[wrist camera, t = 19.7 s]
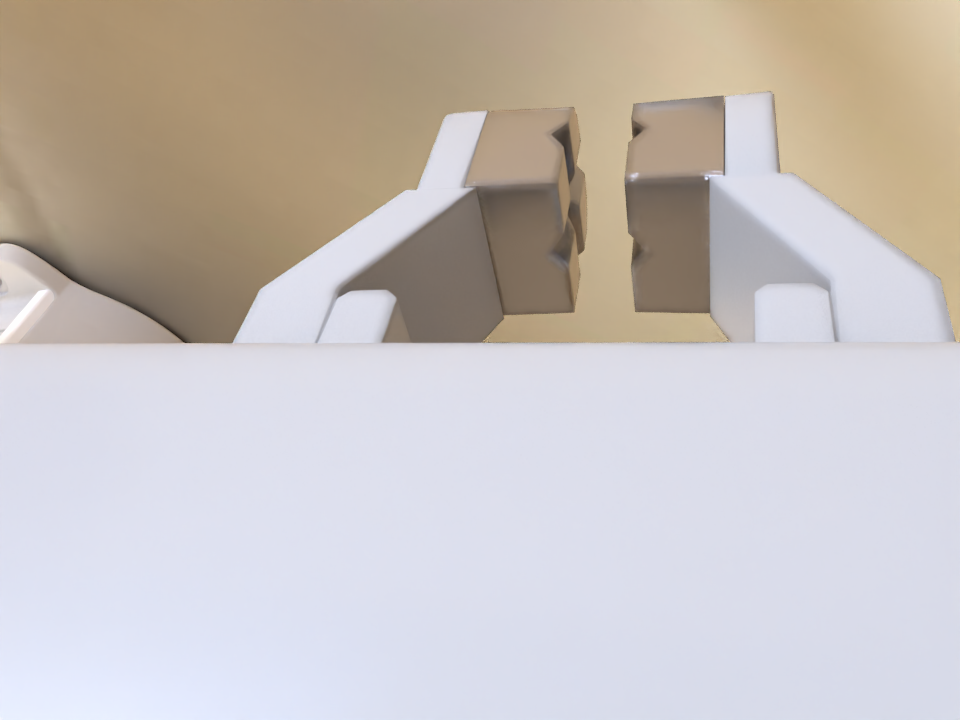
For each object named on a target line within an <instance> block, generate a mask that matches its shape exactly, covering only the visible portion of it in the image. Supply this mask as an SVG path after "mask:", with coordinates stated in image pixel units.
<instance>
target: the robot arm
mask: <svg viewBox="0 0 960 720" xmlns="http://www.w3.org/2000/svg"><path fill="white" fill-rule="evenodd" d="M631 119H632V136H633V139H632V140H631V141H630V142H629V143H628V152H627V162H626V171H625V193H626V207H627V221H628V233H629V234H630V235H631V236H632V237H633V238H634V240H633V252H632V263H631V271H632V282H633V292H634V303H635V312H667V313H710V317H711V318H712V319H713V320H714V322H715V323H716V324H717V325H718V327H719V328H720V329H721V330H722V332H723V333H724V334H725V336H726V337H727V338H728V339H729V341H730V342H606V343H481V342H482V341H483V340H484V339H485V338H486V337H487V336H488V335H489V334H490V333H491V332H492V331H493V330H494V329H495V328H496V326H497V325H498V324H499V323H500V322H501V321H502V320H503V319H504V317H503V315H520V314H548V313H574V311H575V305H576V299H577V293H578V287H579V281H580V267H579V258H578V255H579V254H580V253H581V252H583V251H584V249H585V241H586V234H587V194H586V183H585V174H584V173H583V171H582V170H581V169H580V168H579V167H578V166H577V160H578V154H579V148H580V142H581V140H580V133H579V125H578V118H577V114H576V111H575V108H574V107H563V108H541V109H519V110H498V111H491V112H489V111H488V110H484V111H473V112H462V113H451V114H449V115H446V116H445V118H444V120H443V122H442V125H441V128H440V130H439V133H438V135H437V138H436V141H435V143H434V146H433V149H432V151H431V154H430V156H429V159H428V162H427V164H426V167H425V170H424V172H423V175H422V178H421V180H420V183H419V185H418V188H417V190H405V191H404V192H402V193H401V194H399V195H398V196H396V197H395V198H393V199H392V200H390V201H389V202H387V203H386V204H385V205H383V206H382V207H380V208H379V209H377V210H376V211H374V212H373V213H371V214H370V215H368V216H367V217H365V218H364V219H363V220H361V221H360V222H358V223H357V224H355V225H354V226H352V227H351V228H349V229H348V230H346V231H345V232H343V233H342V234H341V235H339V236H338V237H336V238H335V239H333V240H332V241H330V242H329V243H327V244H326V245H324V246H323V247H321V248H320V249H319V250H317V251H316V252H314V253H313V254H311V255H310V256H308V257H307V258H305V259H304V260H302V261H301V262H299V263H298V264H297V265H295V266H294V267H292V268H291V269H289V270H288V271H286V272H285V273H283V274H282V275H280V276H279V277H277V278H276V279H275V280H273V281H272V282H270V283H269V284H267V285H266V286H264V287H263V288H261V289H260V291H259V293H258V294H257V296H256V298H255V300H254V302H253V304H252V306H251V308H250V310H249V312H248V314H247V316H246V318H245V320H244V322H243V324H242V326H241V328H240V330H239V332H238V334H237V335H236V337H235V339H234V341H233V343H184V342H183V341H181V340H180V339H179V338H178V337H177V336H175V335H174V334H173V333H171V332H170V331H169V330H167V329H166V328H164V327H163V326H162V325H160V324H159V323H157V322H155V321H154V320H152V319H151V318H149V317H147V316H146V315H144V314H142V313H140V312H138V311H137V310H135V309H133V308H131V307H129V306H127V305H125V304H123V303H120V302H118V301H116V300H114V299H111V298H109V297H106V296H104V295H102V294H99V293H97V292H94V291H92V290H90V289H87V288H85V287H83V286H81V285H79V284H77V283H75V282H73V281H72V280H70V279H69V278H68V277H66V276H65V275H64V274H62V273H61V272H59V271H58V270H57V269H55V268H54V267H52V266H51V265H50V264H48V263H47V262H45V261H44V260H42V259H41V258H39V257H38V256H36V255H35V254H33V253H31V252H30V251H28V250H26V249H24V248H22V247H20V246H17V245H14V244H7V243H3V244H0V720H960V342H956V341H955V337H954V332H953V328H952V324H951V320H950V316H949V312H948V308H947V304H946V300H945V296H944V292H943V288H942V284H941V280H940V278H939V277H937V276H936V275H935V274H933V273H932V272H930V271H929V270H928V269H926V268H925V267H924V266H922V265H921V264H919V263H918V262H917V261H915V260H914V259H912V258H911V257H910V256H908V255H907V254H905V253H904V252H903V251H901V250H900V249H899V248H897V247H896V246H894V245H893V244H892V243H890V242H889V241H887V240H886V239H885V238H883V237H882V236H880V235H879V234H878V233H876V232H875V231H874V230H872V229H871V228H869V227H868V226H867V225H865V224H864V223H862V222H861V221H860V220H858V219H857V218H855V217H854V216H853V215H851V214H850V213H849V212H847V211H846V210H844V209H843V208H842V207H840V206H839V205H837V204H836V203H835V202H833V201H832V200H830V199H829V198H828V197H826V196H825V195H824V194H822V193H821V192H819V191H818V190H817V189H815V188H814V187H812V186H811V185H810V184H808V183H807V182H805V181H804V180H803V179H801V178H800V177H799V176H797V175H796V174H794V173H780V163H779V151H778V138H777V125H776V113H775V100H774V94H773V93H772V92H771V91H768V92H758V93H749V94H740V95H731V96H725V103H724V96H714V97H703V98H692V99H681V100H670V101H659V102H647V103H636V104H633V111H632V118H631Z"/></svg>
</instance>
